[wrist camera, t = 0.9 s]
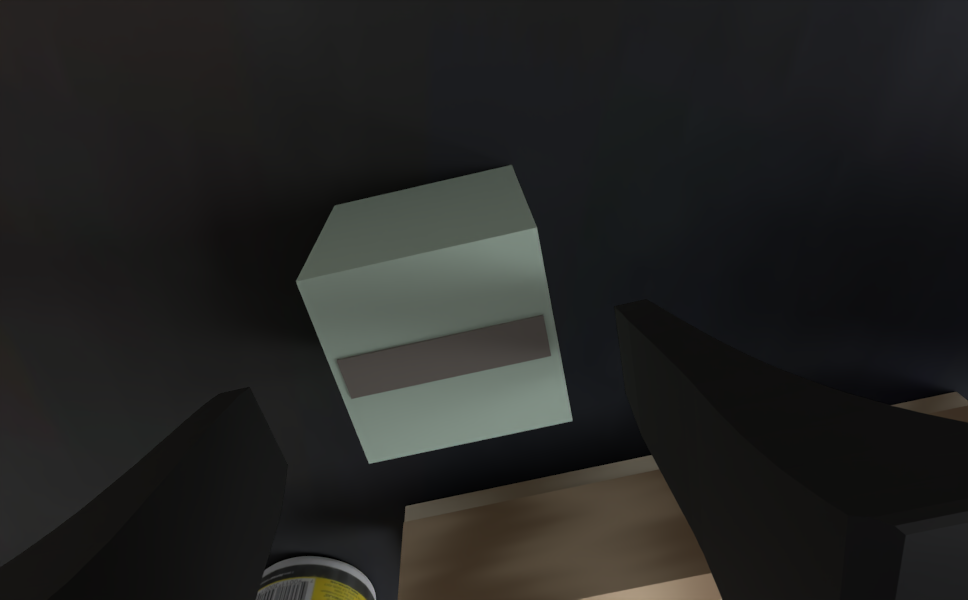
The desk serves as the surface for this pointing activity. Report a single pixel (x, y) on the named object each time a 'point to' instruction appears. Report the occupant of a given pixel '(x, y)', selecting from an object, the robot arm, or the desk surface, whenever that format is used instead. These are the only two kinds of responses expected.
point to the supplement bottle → (314, 581)
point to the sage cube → (437, 315)
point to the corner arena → (570, 536)
